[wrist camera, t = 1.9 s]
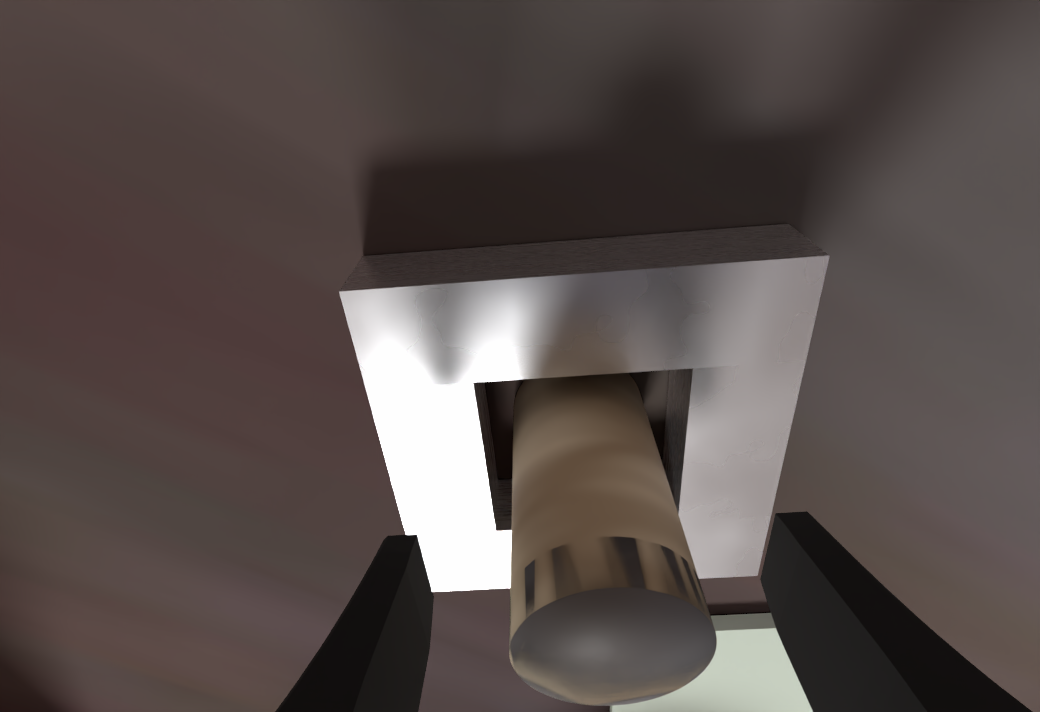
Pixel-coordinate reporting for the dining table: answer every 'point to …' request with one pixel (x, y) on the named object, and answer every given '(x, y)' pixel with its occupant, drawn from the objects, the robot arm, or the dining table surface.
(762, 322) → the square metal frame
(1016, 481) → the dining table surface
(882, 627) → the robot arm
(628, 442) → the tan two-tone cylinder
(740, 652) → the mat
